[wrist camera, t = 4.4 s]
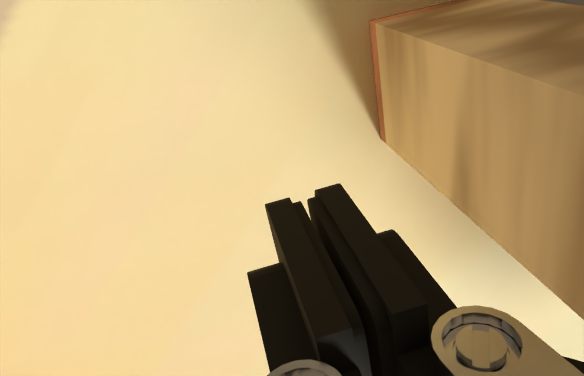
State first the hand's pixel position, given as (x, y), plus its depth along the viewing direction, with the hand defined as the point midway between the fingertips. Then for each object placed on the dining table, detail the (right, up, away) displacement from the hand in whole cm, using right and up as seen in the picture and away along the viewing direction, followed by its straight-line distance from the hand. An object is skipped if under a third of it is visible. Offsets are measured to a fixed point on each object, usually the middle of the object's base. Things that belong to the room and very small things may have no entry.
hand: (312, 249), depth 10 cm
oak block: (+5, +6, +9) cm, 12 cm away
